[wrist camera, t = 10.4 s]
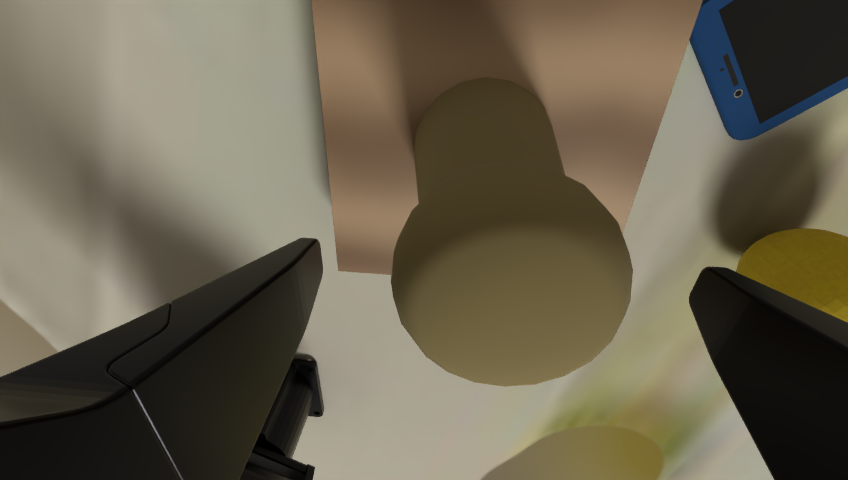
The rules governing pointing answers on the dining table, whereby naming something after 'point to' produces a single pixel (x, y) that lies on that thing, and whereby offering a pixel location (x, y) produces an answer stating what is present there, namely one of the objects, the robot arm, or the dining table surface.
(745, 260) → the lemon
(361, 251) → the walnut base
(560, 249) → the olive-brown rounded piece
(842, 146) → the dining table surface
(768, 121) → the cell phone
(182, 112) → the dining table surface
